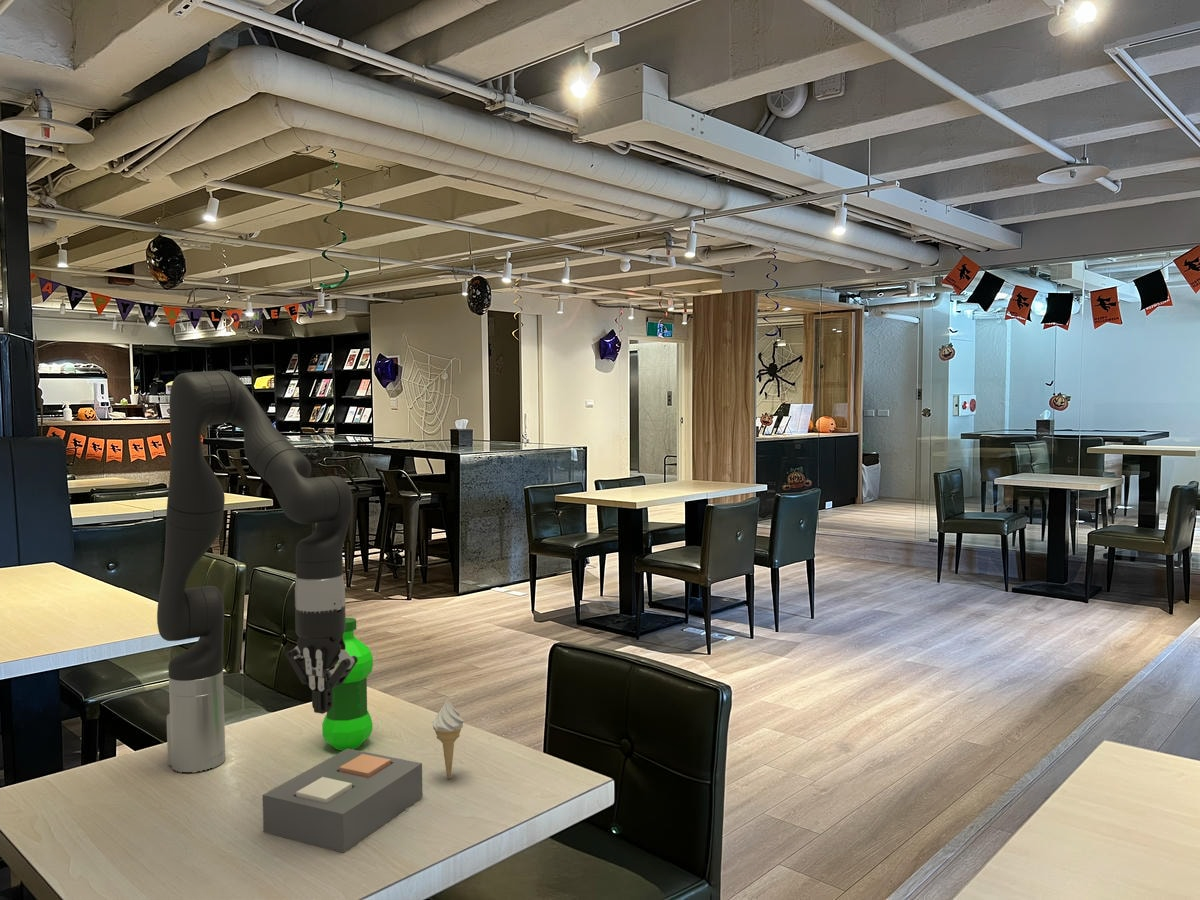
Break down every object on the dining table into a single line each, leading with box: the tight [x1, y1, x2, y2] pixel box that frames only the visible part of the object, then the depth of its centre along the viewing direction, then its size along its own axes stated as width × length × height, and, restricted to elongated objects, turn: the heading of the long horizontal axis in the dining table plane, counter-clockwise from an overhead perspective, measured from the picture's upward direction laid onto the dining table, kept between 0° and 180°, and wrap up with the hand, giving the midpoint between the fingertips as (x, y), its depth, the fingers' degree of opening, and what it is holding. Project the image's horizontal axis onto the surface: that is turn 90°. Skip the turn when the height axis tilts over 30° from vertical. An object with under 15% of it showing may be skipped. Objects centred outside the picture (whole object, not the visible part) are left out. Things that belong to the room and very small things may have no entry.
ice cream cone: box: [431, 696, 464, 780], centre depth 157 cm, size 6×6×15 cm
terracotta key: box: [339, 754, 391, 778], centre depth 148 cm, size 6×6×3 cm
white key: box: [296, 777, 352, 804], centre depth 139 cm, size 6×6×3 cm
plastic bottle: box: [321, 617, 374, 752], centre depth 172 cm, size 10×10×25 cm
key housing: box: [261, 748, 423, 854], centre depth 144 cm, size 16×20×6 cm
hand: (322, 711), depth 138 cm, fingers closed
